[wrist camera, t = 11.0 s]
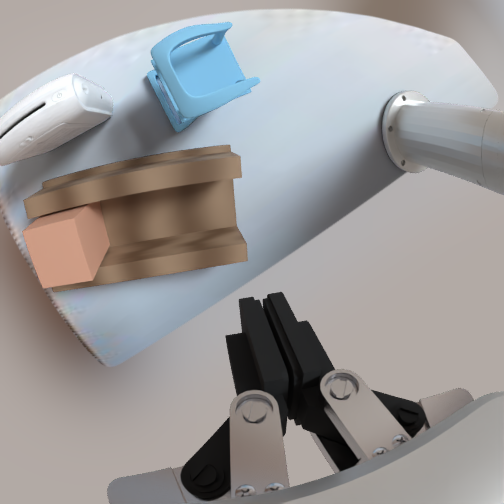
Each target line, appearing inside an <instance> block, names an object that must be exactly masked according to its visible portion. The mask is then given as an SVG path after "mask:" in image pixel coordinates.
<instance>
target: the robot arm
mask: <svg viewBox="0 0 504 504" xmlns="http://www.w3.org/2000/svg"><path fill="white" fill-rule="evenodd" d="M382 133H383V141H384V145H385V148H386V151H387V153H388V155H389V157H390V158H391V160H392V161H393V163H394V164H395V165H396V166H397V167H399V168H400V169H402V170H404V171H407V172H410V173H419V172H422V171H424V170H425V169H427V168H432V169H435V170H438V171H441V172H444V173H447V174H450V175H453V176H455V177H458V178H461V179H464V180H466V181H469V182H472V183H474V184H477V185H479V186H482V187H484V188H487V189H489V190H492V191H494V192H496V193H499V194H502V195H504V112H503V111H499V110H492V109H487V108H480V107H474V106H467V105H458V104H449V103H438V102H430V101H429V100H428V99H427V98H426V97H425V96H424V95H422V94H421V93H419V92H416V91H402V92H399V93H397V94H396V95H394V96H393V97H392V99H391V100H390V101H389V103H388V104H387V106H386V109H385V112H384V116H383V121H382ZM239 307H240V317H241V326H242V333H238V334H232V335H226V343H227V349H228V354H229V360H230V365H231V370H232V375H233V379H234V384H235V389H236V393H237V397H236V398H234V400H233V401H232V403H231V406H230V417H229V418H228V419H227V420H226V421H225V422H224V424H223V425H222V426H221V427H220V428H219V429H218V430H217V431H216V432H215V433H214V435H213V436H212V437H211V438H210V439H209V440H208V441H207V442H206V443H205V444H204V445H203V446H202V447H201V448H200V449H199V451H198V452H196V454H195V455H194V456H193V457H192V458H191V459H190V460H189V461H188V462H187V463H186V464H185V465H184V466H182V467H178V468H175V469H172V468H166V469H162V470H158V471H154V472H148V473H143V474H138V475H133V476H127V477H121V478H117V479H115V480H113V481H112V482H111V483H110V484H109V486H108V489H107V494H108V499H109V503H110V504H504V392H495V393H490V394H487V395H484V396H482V397H480V398H478V399H476V400H473V398H472V396H471V394H470V393H469V392H468V391H467V390H465V389H461V388H458V389H454V390H451V391H448V392H445V393H441V394H438V395H434V396H431V397H427V398H423V399H420V400H419V402H416V403H415V402H413V401H409V400H406V399H402V398H398V397H395V396H391V395H388V394H384V393H381V392H377V391H374V390H371V389H370V388H369V387H368V386H367V385H366V383H365V382H364V381H363V380H362V379H361V378H360V377H359V376H358V375H357V374H356V373H354V372H352V371H350V370H345V369H337V370H335V369H334V367H333V365H332V363H331V361H330V360H329V358H328V356H327V354H326V352H325V351H324V349H323V347H322V345H321V343H320V342H319V340H318V338H317V336H316V334H315V332H314V331H313V329H312V327H311V325H310V324H309V322H307V321H302V322H298V321H297V320H296V318H295V316H294V314H293V312H292V310H291V308H290V306H289V304H288V302H287V300H286V298H285V297H284V294H283V293H282V292H279V293H272V294H268V295H267V298H266V299H263V308H262V305H261V303H260V300H254V297H249V298H243V299H239ZM287 416H288V419H289V420H291V419H294V421H295V424H296V425H302V428H303V429H305V430H307V431H310V434H311V436H312V438H313V439H314V441H315V443H316V444H317V446H318V447H319V449H320V451H321V452H322V454H323V455H324V457H325V459H326V460H327V462H328V463H329V464H330V466H331V468H332V469H333V471H334V473H335V474H333V475H330V476H327V477H324V478H321V479H318V480H315V481H311V482H308V483H305V484H302V485H298V486H294V487H289V479H288V473H287V465H286V457H285V450H284V443H283V436H284V435H285V433H286V424H287Z"/></svg>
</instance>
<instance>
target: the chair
mask: <svg viewBox="0 0 504 504" xmlns="http://www.w3.org/2000/svg"><path fill="white" fill-rule="evenodd" d="M231 27H232V23H230V22H225V23H218V24H202V25H194V26H189V27H186V28H183V29H180V30H178V31H176V32H174V33H172V34H171V35H169V36H167V37H166V38H164V39H163V40H161V41H160V42H159V43H157V44H156V45H155V46H154V47H153V48H152V50H151V56H152V58H153V60H151V63H152V65H153V67H154V69H155V70H152V71H150V72H148V73H147V77H148V79H149V81H150V83H151V85H152V87H153V89H154V91H155V93H156V95H157V97H158V99H159V101H160V103H161V105H162V106H163V108H164V110H165V112H166V114H167V116H168V118H169V120H170V122H171V124H172V126H173V128H174V130H175V131H176V132H181V131H182V130H184V129H185V128H186V127H188V126H189V125H190V124H191V123H192V122H193V121H194V120H195V119H196V118H197V117H198V116H200V115H203V114H205V113H208V112H210V111H212V110H214V109H217V108H219V107H221V106H223V105H225V104H226V103H228V102H230V101H231V100H233V99H235V98H238V97H240V96H243V95H245V94H248V93H250V92H252V91H251V89H250V88H251V87H253V86H255V85H257V84H258V83H259V82H260V79H259V78H258V77H254V78H250V79H247V80H246V79H245V77H244V75H243V73H242V71H241V69H240V67H239V65H238V63H237V61H236V59H235V57H234V55H233V53H232V51H231V48H230V46H229V44H228V42H227V40H226V38H225V36H224V35H225V33H226V31H227V30H228V29H230V28H231ZM208 35H209V36H208ZM204 36H206V37H204ZM200 37H203V38H201V39H198V40H196V41H194V42H191V43H189V44H186V45H184V46H182V47H179V46H181V45H183V44H185V43H187V42H189V41H191V40H194V39H197V38H200ZM178 47H179V48H178ZM176 48H177V49H176ZM156 76H158V77H159V79H160V81H161V83H162V85H163V87H164V89H165V90H166V92H167V94H168V96H169V98H170V100H171V102H172V104H173V106H174V108H175V110H176V112H177V114H178V116H179V118H180V120H181V122H182V123H181V124H179V123H178V122H177V121H176V119H175V117H174V115H173V113H172V111H171V109H170V107H169V105H168V103H167V100H166V98H165V96H164V94H163V92H162V90H161V88H160V86H159V84H158V82H157V80H156Z"/></svg>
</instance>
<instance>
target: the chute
mask: <svg viewBox="0 0 504 504" xmlns="http://www.w3.org/2000/svg"><path fill="white" fill-rule="evenodd" d="M234 178H242V173H241V159H240V156H239V155H237V154H235V153H233V152H231V148H230V145H220V146H211V147H203V148H195V149H188V150H181V151H174V152H168V153H162V154H156V155H150V156H145V157H139V158H134V159H129V160H125V161H120V162H115V163H111V164H106V165H102V166H98V167H94V168H90V169H86V170H82V171H78V172H75V173H71V174H67V175H64V176H61V177H57V178H54V179H51V180H47V181H45V182H43V183H42V185H43V189H42V190H40V191H38V192H37V193H35V194H33V195H32V196H30V197H28V198H27V199H25V200H23V201H24V205H25V209H26V213H27V217H28V219H31V218H34V217H38V216H41V215H45V214H49V213H52V212H56V211H60V210H64V209H68V208H72V207H76V206H80V205H84V204H89V203H93V202H97V201H100V206H101V210H102V215H103V219H104V223H105V227H106V231H107V235H108V239H109V243H110V246H109V248H108V250H107V252H106V254H105V256H104V258H103V260H102V262H101V264H100V266H99V268H98V271H97V273H96V275H95V277H94V279H93V280H92V281H86V282H80V283H74V284H68V285H62V286H55V287H52V289H53V292H59V291H65V290H72V289H78V288H85V287H91V286H97V285H104V284H110V283H116V282H123V281H129V280H135V279H141V278H148V277H154V276H160V275H166V274H172V273H178V272H184V271H190V270H196V269H202V268H208V267H214V266H220V265H226V264H232V263H238V262H244V261H248V257H247V243H246V241H245V240H244V238H243V236H242V234H241V233H240V231H239V229H238V227H237V224H236V212H235V200H234V187H233V179H234Z"/></svg>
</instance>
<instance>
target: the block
mask: <svg viewBox="0 0 504 504" xmlns="http://www.w3.org/2000/svg"><path fill="white" fill-rule="evenodd" d="M22 232H23V236H24V239H25V242H26V245H27V248H28V251H29V254H30V257H31V259H32V262H33V265H34V267H35V270H36V273H37V275H38V278H39V280H40V282H41V285H42V287H43V288H49V287H55V286H62V285H68V284H74V283H80V282H86V281H92V280H93V279H94V277H95V275H96V273H97V271H98V268H99V266H100V264H101V262H102V260H103V258H104V256H105V254H106V252H107V250H108V248H109V246H110V243H109V239H108V235H107V231H106V227H105V223H104V219H103V215H102V210H101V206H100V201H97V202H93V203H89V204H84V205H80V206H76V207H72V208H68V209H64V210H60V211H56V212H52V213H49V214H45V215H42V216H40V217H39V218H38V219H37V220H35V221H34V222H33V223H32V224H30V225H29V226H28V227H27V228H26V229H25V230H23V231H22Z"/></svg>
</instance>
